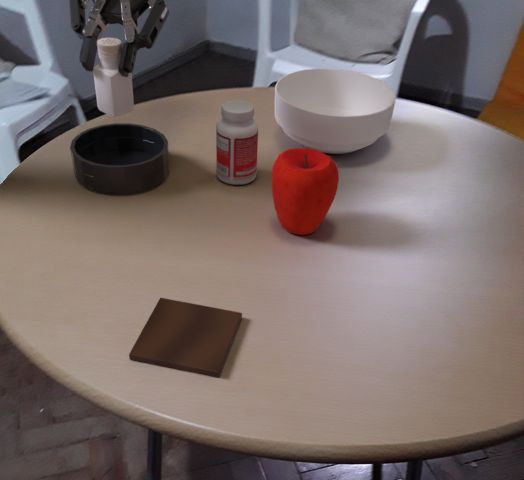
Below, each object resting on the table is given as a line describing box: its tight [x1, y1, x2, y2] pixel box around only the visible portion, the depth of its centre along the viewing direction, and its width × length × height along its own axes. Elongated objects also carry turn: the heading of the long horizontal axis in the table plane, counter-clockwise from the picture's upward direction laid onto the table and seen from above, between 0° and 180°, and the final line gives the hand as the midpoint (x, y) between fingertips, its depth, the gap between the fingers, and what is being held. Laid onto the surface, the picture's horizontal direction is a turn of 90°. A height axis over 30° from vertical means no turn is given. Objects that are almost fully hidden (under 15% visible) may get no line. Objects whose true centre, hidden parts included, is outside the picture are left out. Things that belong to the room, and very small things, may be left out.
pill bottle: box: [215, 99, 259, 186], centre depth 93 cm, size 6×6×11 cm
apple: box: [271, 147, 340, 236], centre depth 84 cm, size 9×9×11 cm
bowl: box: [274, 67, 397, 155], centre depth 105 cm, size 20×20×8 cm
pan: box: [69, 122, 170, 196], centre depth 95 cm, size 14×14×4 cm
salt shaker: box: [92, 36, 135, 118], centre depth 87 cm, size 4×4×10 cm
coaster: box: [128, 297, 243, 378], centre depth 70 cm, size 10×10×1 cm
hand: (105, 70), depth 84 cm, fingers closed on salt shaker, 4 cm apart
